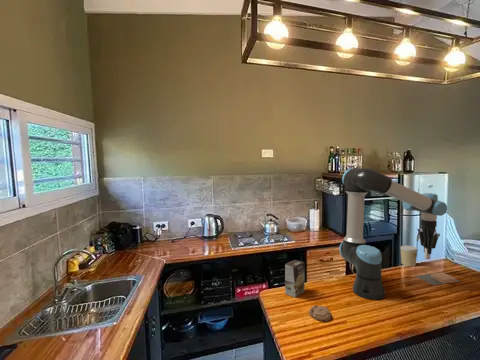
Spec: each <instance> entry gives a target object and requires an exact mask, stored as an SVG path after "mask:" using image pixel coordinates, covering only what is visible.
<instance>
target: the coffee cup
mask: <svg viewBox="0 0 480 360" xmlns="http://www.w3.org/2000/svg"><path fill="white" fill-rule="evenodd" d="M417 257H418V248H417V247H416V246H413V245H401V246H400V262H401V265H403V266H406V267H416V266H417Z"/></svg>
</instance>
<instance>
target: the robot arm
mask: <svg viewBox="0 0 480 360" xmlns="http://www.w3.org/2000/svg"><path fill="white" fill-rule="evenodd" d="M341 180H342V181H341V182H342V184H343V186H344V187H345V193H346V194H347V214H346V234H345V236H344V237H343V239H342V242H341V243H340V245H339V247H338V249H339V254H340V256H341V257H342V258H343V260H345V261H346V262H347V263H350V264H351V265H353V266H354V267H356V276H355V279H354V282H353V284H352V292H353V293H354V294H355V295H356V296H358V297H360V298H363V299H367V300H377V301H378V300H382V299H384V298H385V296H386V290H385V288H384V287H385V286H384V285H383V281H382V266H383V265H382V263H383V262H382V261H383V257H382V252H381V250H380V249H378V248H377V247H375V246H371V245H367V244H366V239H364V220H365V219H364V217H365V197H366V195H367V194H368V193H369V192H373V193H378V194H380V195H384V194H385V195H386V196H388V197H392V198H394V199H396V200H399V201H400V202H402V208H403V209H404V210H406V211H414V212H415V211H416V212H419V213H420V212H421V216H420V219H421V221H420V226H421V227H420V228H417V232H418V235H419V242H420V246H422V247H423V253H424V256H423V258H424V260H431V255H432V250H433V249H434V250H435V249H436V246H437V244H438V241H439V237H440V236H441V234H440V233H438V232H437V229H436V228H437V224H438V222H437V220H438V216H443V215H446V213H447V211H448V205H447V204H446V202H444V201H440V200H439V197H438V194H436V193H430V192H428V193H427V192H425V193H420V192H418V191H416V190H414V189H412V188H409V187H407V186H405V185H402V184H400V183H398V182H396V181H394V180H393V179H392V178H391V177H390V176H387V175H386V174H383V173H381V172H380V171H377V170H375V169H373V168H369V167H368V168H367V167H366V168H365V167H364V168H363V167H352V168H348V169H347V170H345V172H344V173H343V175H342V178H341Z"/></svg>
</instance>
